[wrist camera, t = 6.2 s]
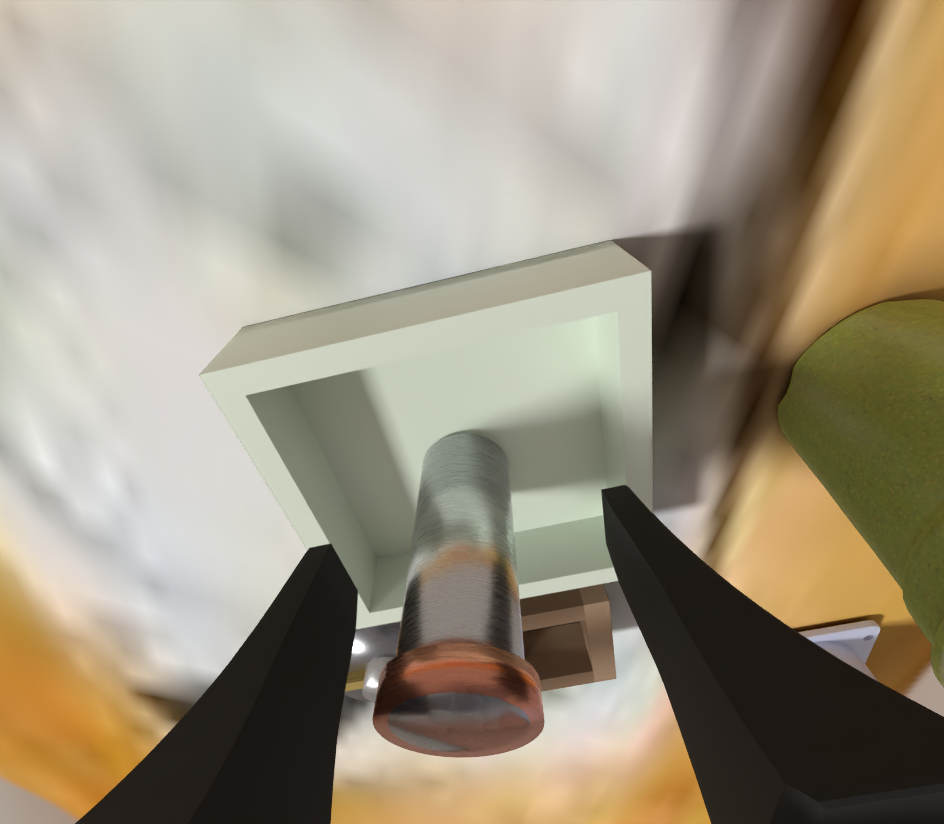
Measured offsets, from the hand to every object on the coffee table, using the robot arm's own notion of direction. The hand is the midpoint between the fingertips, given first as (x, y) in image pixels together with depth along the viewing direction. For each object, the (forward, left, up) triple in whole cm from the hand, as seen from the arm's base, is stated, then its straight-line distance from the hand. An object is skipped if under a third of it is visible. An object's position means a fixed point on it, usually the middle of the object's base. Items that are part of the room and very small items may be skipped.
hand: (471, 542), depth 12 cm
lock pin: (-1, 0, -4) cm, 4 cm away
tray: (0, 0, -5) cm, 5 cm away
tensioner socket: (-10, -1, -5) cm, 12 cm away
